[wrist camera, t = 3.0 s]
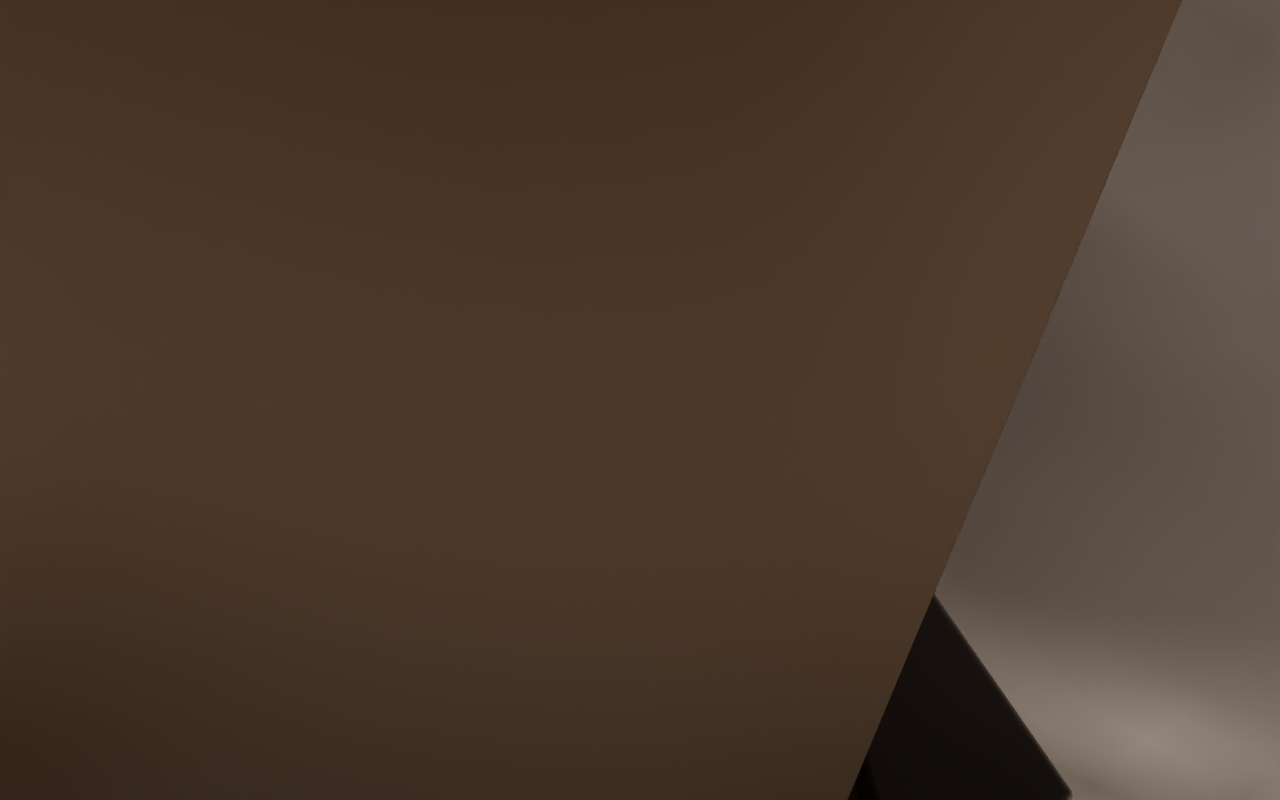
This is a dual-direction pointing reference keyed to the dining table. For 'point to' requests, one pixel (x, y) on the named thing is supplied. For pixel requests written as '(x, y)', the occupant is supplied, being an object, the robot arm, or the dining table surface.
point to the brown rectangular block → (511, 378)
